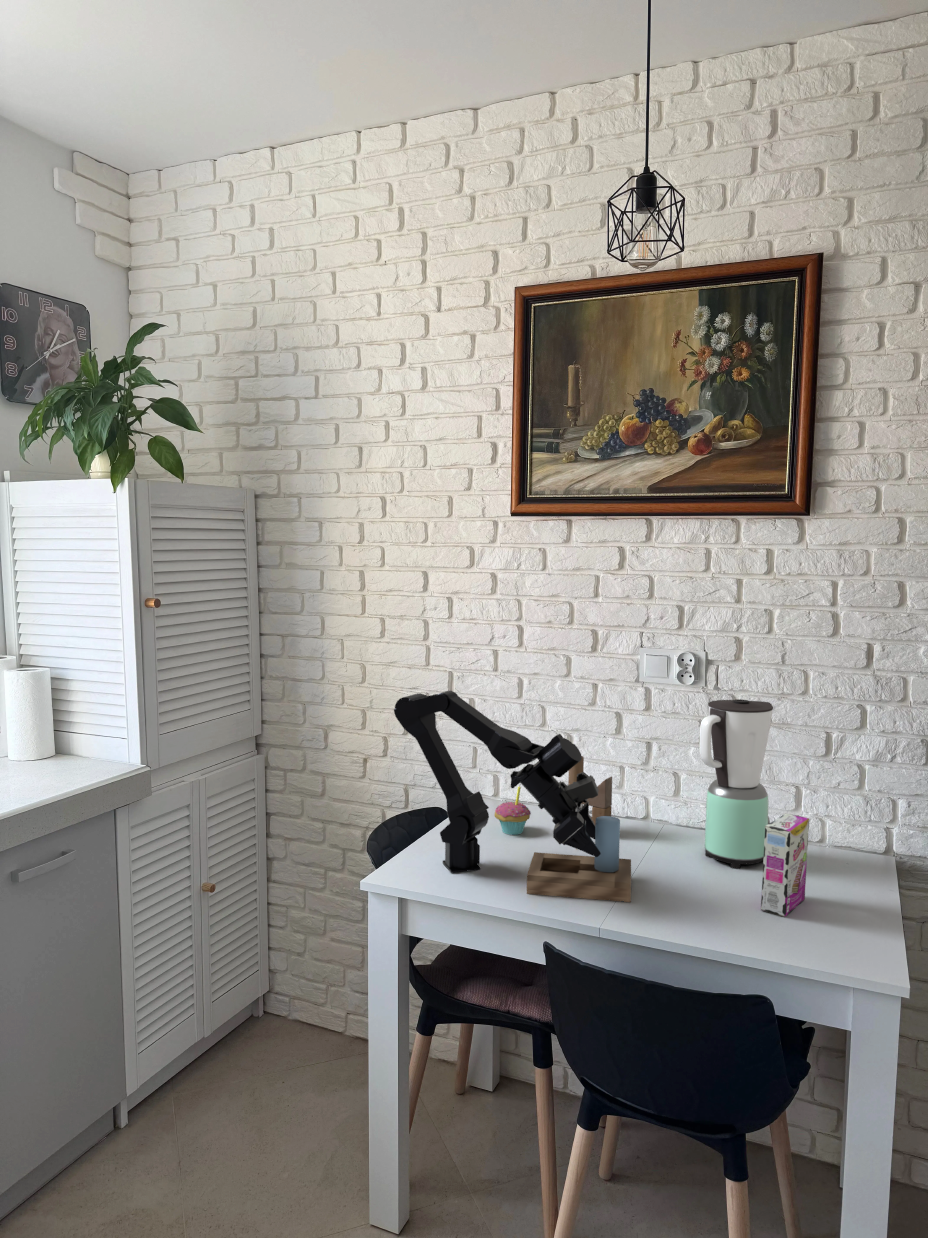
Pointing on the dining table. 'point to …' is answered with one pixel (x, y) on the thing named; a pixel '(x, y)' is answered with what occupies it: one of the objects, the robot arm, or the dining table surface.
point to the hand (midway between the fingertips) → (599, 847)
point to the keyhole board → (575, 889)
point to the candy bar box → (784, 864)
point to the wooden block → (604, 794)
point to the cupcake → (512, 816)
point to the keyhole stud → (607, 843)
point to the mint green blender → (736, 780)
